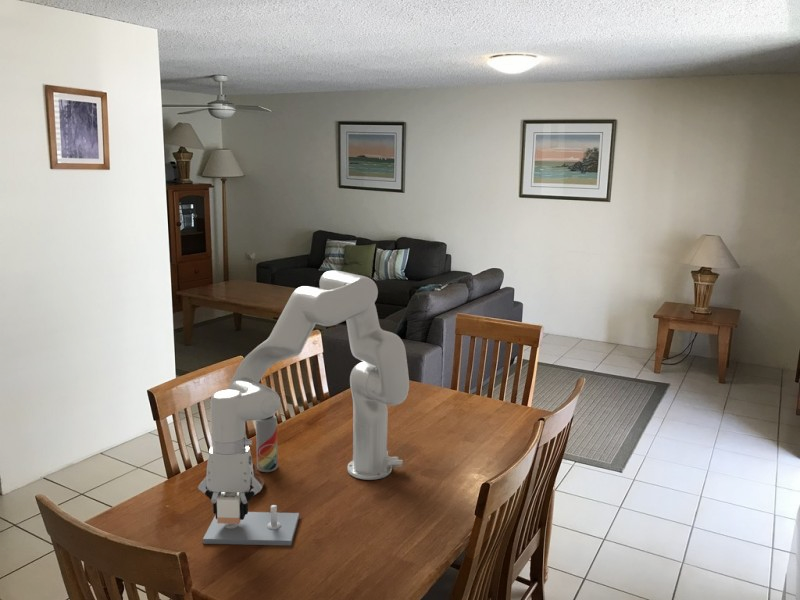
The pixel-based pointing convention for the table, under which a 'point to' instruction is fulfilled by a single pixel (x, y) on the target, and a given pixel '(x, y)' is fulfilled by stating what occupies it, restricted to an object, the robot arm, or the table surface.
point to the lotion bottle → (266, 444)
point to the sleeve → (228, 508)
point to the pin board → (255, 529)
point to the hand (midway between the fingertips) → (231, 515)
